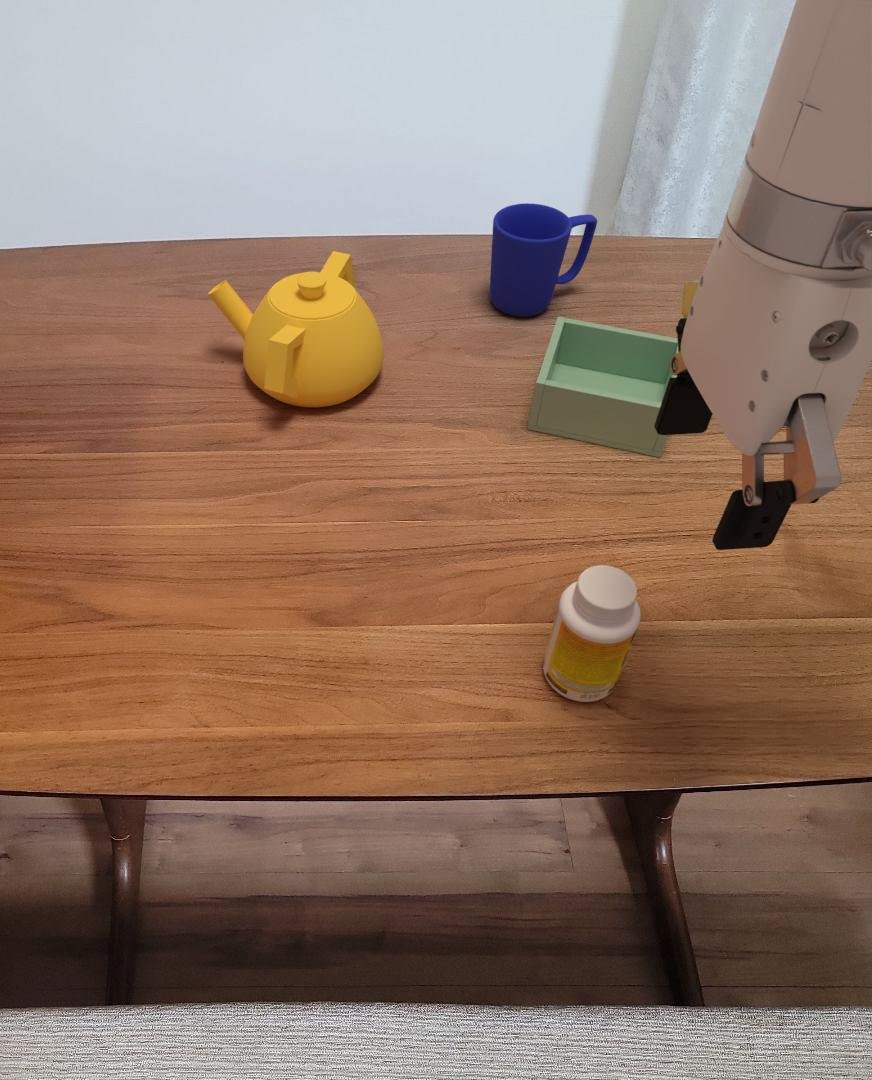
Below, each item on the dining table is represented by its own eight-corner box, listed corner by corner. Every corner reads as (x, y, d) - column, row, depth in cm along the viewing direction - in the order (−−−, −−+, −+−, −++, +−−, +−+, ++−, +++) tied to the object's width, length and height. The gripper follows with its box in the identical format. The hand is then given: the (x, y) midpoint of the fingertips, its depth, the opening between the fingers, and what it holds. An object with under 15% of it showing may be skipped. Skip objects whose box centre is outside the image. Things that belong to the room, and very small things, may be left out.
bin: (671, 386, 94) (687, 339, 90) (660, 457, 87) (676, 410, 83) (548, 362, 97) (557, 316, 93) (526, 429, 90) (536, 382, 86)
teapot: (251, 303, 105) (244, 211, 97) (406, 333, 101) (412, 239, 93) (173, 407, 92) (158, 311, 84) (347, 447, 88) (349, 349, 80)
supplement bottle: (623, 706, 68) (658, 618, 60) (547, 705, 68) (573, 618, 61) (608, 644, 72) (640, 555, 64) (536, 644, 72) (559, 555, 64)
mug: (599, 308, 104) (619, 225, 97) (504, 330, 101) (518, 246, 94) (560, 272, 109) (576, 191, 102) (469, 293, 106) (479, 210, 99)
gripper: (1010, 310, 36) (837, 592, 49) (814, 125, 48) (715, 390, 60) (825, 319, 36) (698, 602, 48) (673, 131, 48) (603, 397, 60)
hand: (707, 484), depth 54 cm, fingers open, 9 cm apart
